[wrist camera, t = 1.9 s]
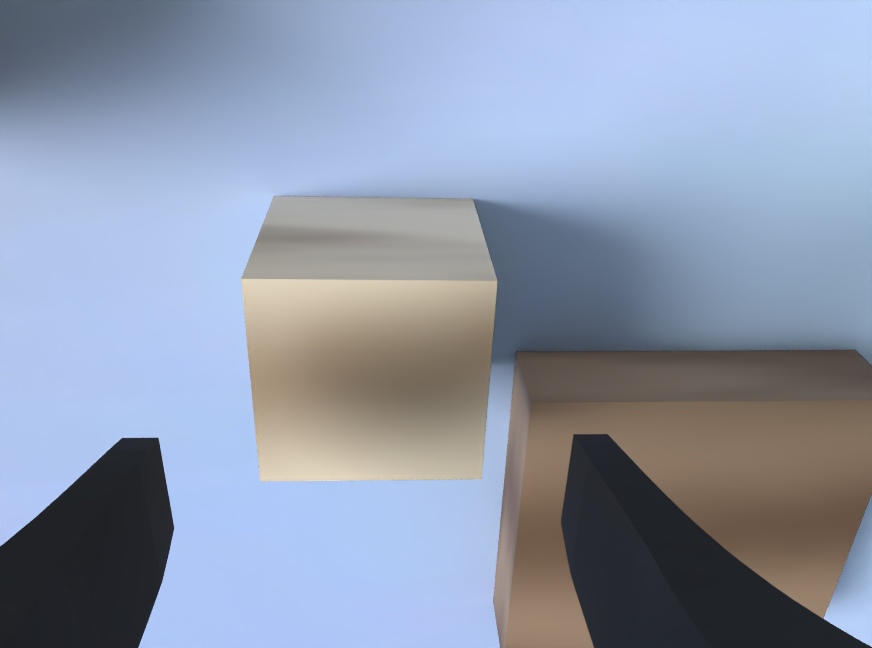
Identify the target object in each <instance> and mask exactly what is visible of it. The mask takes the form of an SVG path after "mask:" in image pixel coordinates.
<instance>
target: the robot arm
mask: <svg viewBox="0 0 872 648" xmlns="http://www.w3.org/2000/svg"><path fill="white" fill-rule="evenodd" d="M561 526H562V532H563V538H564V543H565V549H566V554H567V559H568V564H569V569H570V574H571V577H572V581H573V584H574V587H575V590H576V593H577V597H578V600H579V603H580V606H581V609H582V612H583V616H584V619H585V622H586V625H587V628H588V631H589V634H590V637H591V640H592V643H593V646H594V648H872V647H871V646H869V645H867V644H865V643H863V642H861V641H860V640H858V639H856V638H854V637H853V636H851V635H849V634H848V633H846V632H844V631H842V630H841V629H839V628H837V627H836V626H834V625H832V624H831V623H829V622H827V621H826V620H824V619H823V618H821V617H820V616H818V615H817V614H815V613H813V612H812V611H810V610H809V609H807V608H806V607H804V606H803V605H801V604H799V603H798V602H796V601H795V600H793V599H792V598H790V597H789V596H787V595H786V594H784V593H783V592H782V591H780V590H779V589H777V588H776V587H774V586H773V585H772V584H770V583H769V582H768V581H766V580H765V579H764V578H762V577H761V576H760V575H758V574H757V573H756V572H754V571H753V570H752V569H750V568H749V567H748V566H746V565H745V564H744V563H742V562H741V561H740V560H738V559H737V558H736V557H735V556H733V555H732V554H731V553H730V552H728V551H727V550H726V549H725V548H724V547H722V546H721V545H720V544H719V543H718V542H717V541H716V540H714V539H713V538H712V537H711V536H710V535H709V534H707V533H706V532H705V531H704V530H703V529H702V528H701V527H699V526H698V525H697V524H696V523H695V522H694V521H693V520H692V519H691V518H690V517H688V516H687V515H686V514H685V513H684V512H683V511H682V510H681V509H680V508H679V507H678V506H677V505H676V504H675V503H674V502H673V501H672V500H671V499H670V498H669V497H668V496H667V495H666V494H665V493H664V492H663V491H662V490H661V489H660V488H659V487H658V486H657V485H656V484H655V483H654V482H653V481H652V480H651V479H650V478H649V477H648V476H647V475H646V474H645V473H644V472H643V471H642V470H641V469H640V468H639V467H638V466H637V465H636V463H635V462H634V461H633V460H632V459H631V458H630V457H629V456H628V455H627V454H626V453H625V452H624V451H623V450H622V449H621V448H620V447H619V446H618V444H617V443H616V442H615V441H614V440H613V439H612V438H611V437H610V436H609V435H608V434H573V441H572V448H571V455H570V461H569V468H568V475H567V482H566V489H565V496H564V503H563V509H562V516H561ZM173 531H174V524H173V519H172V513H171V507H170V502H169V496H168V490H167V484H166V479H165V473H164V467H163V461H162V456H161V450H160V444H159V439H158V438H122V439H121V440H119V441H118V442H117V443H116V444H115V445H114V446H113V447H112V448H111V449H110V450H108V451H107V452H106V453H105V454H104V455H103V456H102V457H101V458H100V459H99V460H98V461H97V462H96V463H94V464H93V465H92V466H91V467H90V468H89V469H88V470H87V471H86V472H85V473H84V474H83V475H82V476H81V477H80V478H78V479H77V480H76V481H75V482H74V483H73V484H72V485H71V486H70V487H69V488H68V489H67V490H66V491H64V492H63V493H62V494H61V495H60V496H59V497H58V498H57V499H56V500H54V501H53V502H52V503H51V504H50V505H49V506H48V507H47V508H46V509H44V510H43V511H42V512H41V513H40V514H39V515H38V516H37V517H36V518H34V519H33V520H32V521H31V522H30V523H28V524H27V525H26V526H25V527H24V528H22V529H21V530H20V531H19V532H17V533H16V534H15V535H14V536H13V537H11V538H10V539H9V540H8V541H7V542H5V543H4V544H3V545H2V546H0V648H138V647H139V644H140V641H141V639H142V636H143V633H144V631H145V628H146V625H147V622H148V620H149V617H150V614H151V611H152V609H153V606H154V603H155V600H156V598H157V595H158V592H159V589H160V586H161V583H162V580H163V576H164V571H165V567H166V563H167V559H168V554H169V550H170V545H171V540H172V536H173Z"/></svg>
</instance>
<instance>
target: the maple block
mask: <svg viewBox="0 0 872 648" xmlns="http://www.w3.org/2000/svg"><path fill="white" fill-rule="evenodd" d="M241 281H242V292H243V303H244V313H245V324H246V335H247V345H248V356H249V367H250V378H251V388H252V399H253V410H254V420H255V431H256V442H257V452H258V463H259V474H260V481H347V480H450V479H482V468H483V456H484V443H485V431H486V418H487V406H488V393H489V381H490V368H491V356H492V344H493V331H494V319H495V306H496V294H497V277H496V274H495V271H494V267H493V264H492V261H491V257H490V254H489V251H488V247H487V244H486V241H485V237H484V234H483V231H482V228H481V224H480V221H479V218H478V214H477V211H476V208H475V204H474V201H473V199H449V198H379V197H309V196H274V197H273V200H272V202H271V205H270V207H269V210H268V212H267V215H266V217H265V220H264V223H263V225H262V228H261V230H260V233H259V235H258V238H257V240H256V243H255V245H254V248H253V250H252V253H251V256H250V258H249V261H248V263H247V266H246V268H245V271H244V273H243V276H242V278H241Z"/></svg>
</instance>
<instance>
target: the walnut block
mask: <svg viewBox="0 0 872 648" xmlns="http://www.w3.org/2000/svg"><path fill="white" fill-rule="evenodd" d="M573 434H608V435H609V436H610V437H611V438H612V439H613V440H614V441H615V442H616V443H617V444H618V446H619V447H620V448H621V449H622V450H623V451H624V452H625V453H626V454H627V455H628V456H629V457H630V458H631V459H632V460H633V461H634V462H635V463H636V465H637V466H638V467H639V468H640V469H641V470H642V471H643V472H644V473H645V474H646V475H647V476H648V477H649V478H650V479H651V480H652V481H653V482H654V483H655V484H656V485H657V486H658V487H659V488H660V489H661V490H662V491H663V492H664V493H665V494H666V495H667V496H668V497H669V498H670V499H671V500H672V501H673V502H674V503H675V504H676V505H677V506H678V507H679V508H680V509H681V510H682V511H683V512H684V513H685V514H686V515H687V516H688V517H690V518H691V519H692V520H693V521H694V522H695V523H696V524H697V525H698V526H699V527H701V528H702V529H703V530H704V531H705V532H706V533H707V534H709V535H710V536H711V537H712V538H713V539H714V540H716V541H717V542H718V543H719V544H720V545H721V546H722V547H724V548H725V549H726V550H727V551H728V552H730V553H731V554H732V555H733V556H735V557H736V558H737V559H738V560H740V561H741V562H742V563H744V564H745V565H746V566H748V567H749V568H750V569H752V570H753V571H754V572H756V573H757V574H758V575H760V576H761V577H762V578H764V579H765V580H766V581H768V582H769V583H770V584H772V585H773V586H774V587H776V588H777V589H779V590H780V591H782V592H783V593H784V594H786V595H787V596H789V597H790V598H792V599H793V600H795V601H796V602H798V603H799V604H801V605H803V606H804V607H806V608H807V609H809V610H810V611H812V612H813V613H815V614H817V615H818V616H820V617H821V618H824V616H825V613H826V611H827V608H828V606H829V603H830V600H831V598H832V595H833V593H834V590H835V587H836V585H837V582H838V580H839V577H840V575H841V572H842V569H843V567H844V564H845V562H846V559H847V556H848V554H849V551H850V549H851V546H852V544H853V541H854V538H855V536H856V533H857V531H858V528H859V526H860V523H861V520H862V518H863V515H864V513H865V510H866V507H867V505H868V502H869V500H870V497H871V495H872V365H871V364H870V363H869V362H868V361H866V360H865V359H864V358H863V357H862V356H861V355H860V354H859V353H858V352H857V351H856V350H751V351H516V358H515V369H514V380H513V391H512V401H511V412H510V423H509V434H508V445H507V456H506V467H505V478H504V489H503V500H502V511H501V522H500V532H499V543H498V554H497V565H496V576H495V587H494V598H493V603H494V610H495V616H496V623H497V629H498V636H499V642H500V648H594V646H593V643H592V640H591V637H590V634H589V631H588V628H587V625H586V622H585V619H584V616H583V612H582V609H581V606H580V603H579V600H578V597H577V593H576V590H575V587H574V584H573V581H572V577H571V574H570V569H569V564H568V559H567V554H566V549H565V543H564V538H563V532H562V526H561V516H562V509H563V503H564V496H565V489H566V482H567V475H568V468H569V461H570V455H571V448H572V441H573Z"/></svg>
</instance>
